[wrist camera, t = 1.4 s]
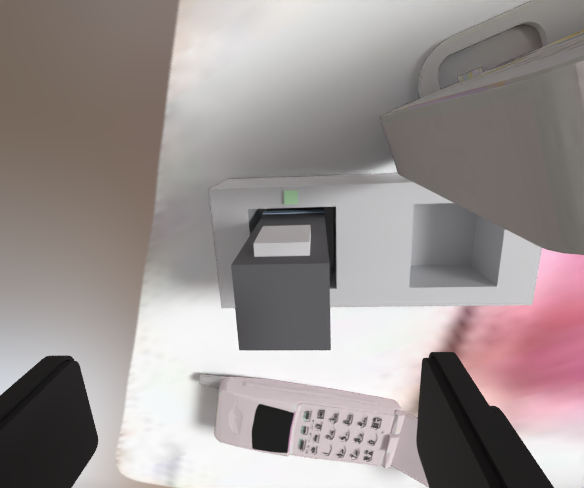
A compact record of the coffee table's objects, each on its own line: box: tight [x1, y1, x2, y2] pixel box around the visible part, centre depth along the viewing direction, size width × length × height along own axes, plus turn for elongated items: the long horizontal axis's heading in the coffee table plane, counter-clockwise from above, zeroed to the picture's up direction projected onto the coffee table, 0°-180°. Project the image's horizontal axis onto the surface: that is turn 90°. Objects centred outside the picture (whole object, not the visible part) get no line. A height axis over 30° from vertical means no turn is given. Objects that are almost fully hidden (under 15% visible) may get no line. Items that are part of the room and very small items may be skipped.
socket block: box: [209, 173, 542, 308], centre depth 25 cm, size 8×20×5 cm, turn 93°
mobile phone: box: [199, 374, 429, 487], centre depth 30 cm, size 6×6×25 cm
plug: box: [231, 207, 331, 350], centre depth 21 cm, size 5×4×12 cm
